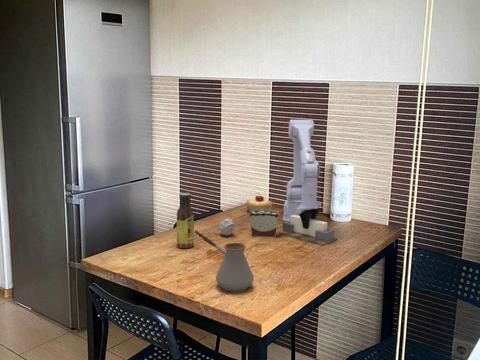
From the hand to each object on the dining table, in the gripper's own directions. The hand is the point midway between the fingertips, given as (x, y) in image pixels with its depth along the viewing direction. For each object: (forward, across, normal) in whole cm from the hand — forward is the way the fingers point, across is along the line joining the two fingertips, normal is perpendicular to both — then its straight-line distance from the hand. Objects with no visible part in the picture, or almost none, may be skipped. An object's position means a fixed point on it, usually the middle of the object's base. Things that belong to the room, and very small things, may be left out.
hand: (308, 227), depth 209 cm
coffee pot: (+4, -56, -8) cm, 57 cm away
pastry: (+4, +15, +38) cm, 41 cm away
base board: (+4, 0, 0) cm, 4 cm away
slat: (+3, 0, 0) cm, 3 cm away
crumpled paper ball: (+4, -21, +24) cm, 32 cm away
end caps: (+4, 0, 0) cm, 4 cm away
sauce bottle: (+4, -41, +26) cm, 49 cm away
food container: (+4, -10, +14) cm, 18 cm away
